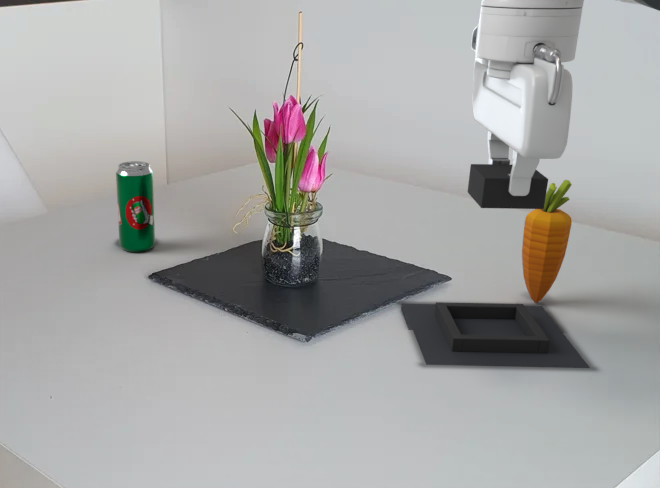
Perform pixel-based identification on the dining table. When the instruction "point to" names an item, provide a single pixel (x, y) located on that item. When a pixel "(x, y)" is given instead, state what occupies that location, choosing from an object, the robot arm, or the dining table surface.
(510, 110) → the robot arm
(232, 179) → the dining table surface
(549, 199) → the carrot
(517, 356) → the socket mat
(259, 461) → the dining table surface
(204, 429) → the dining table surface
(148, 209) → the soda can
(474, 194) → the black block
